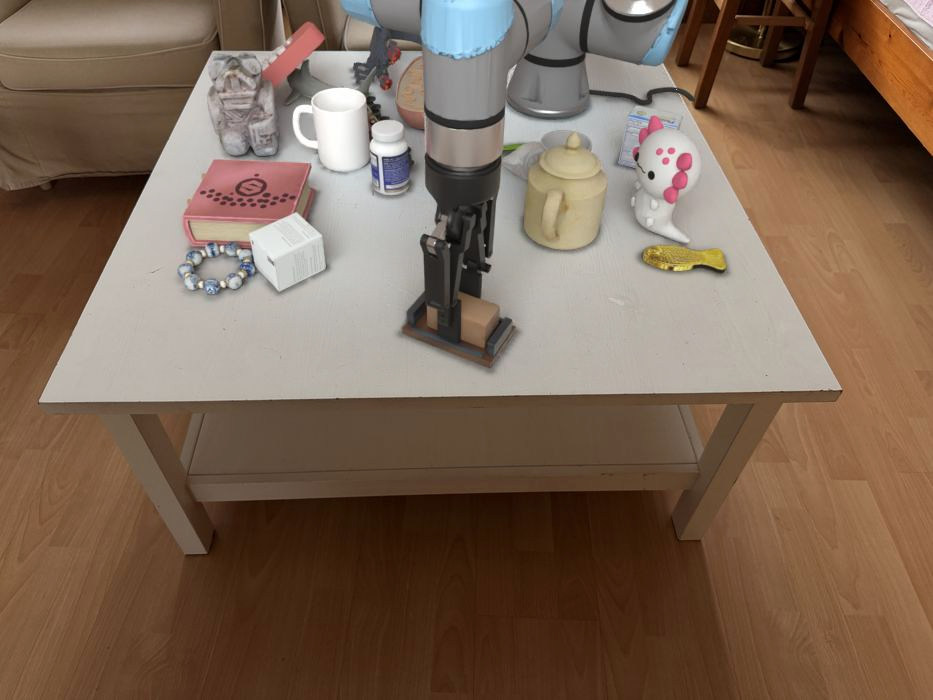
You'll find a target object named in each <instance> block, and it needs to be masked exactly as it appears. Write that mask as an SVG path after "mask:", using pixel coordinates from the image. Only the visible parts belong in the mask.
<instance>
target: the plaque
mask: <svg viewBox="0 0 933 700" xmlns="http://www.w3.org/2000/svg"><path fill="white" fill-rule="evenodd" d="M325 39H326V36H325V35H324V34H323V33H322V32H321V31H320V29H319V28H318V27H317V25H316V24H315V23H314V22H311V21H306V22H305V23H303V24H302V25H301V26H300V27H299V28H298V29H297V30H296V31H295V32H294V33H293V34H292V35H291V36H289V37H288V38H287V39H286V40H285V42H283V43H282V44H281V45H280V46H276V48H275V49H273V50H272V51H271V52H270V53H269V54H268V55H267V56H266V57H265V58H263V60H262V61H261V62H260V64H261V65H262V78H264V79H268V80H270V81H271V83H272V85H273V87H274V90H276V88H277V87H278V86H280V85H281V84H282V83H283V81H285V80H286V79H287V77H288V76H289V75H290V74H291V73H292V72H293V71H294V70H295V69H296V68H299V66H301V65H302V63H303V61H305V60H307V58H308V57H309V56H310V55H312V54H313V52H315V51H316V49H318V48H319V47H320V46H321V45H322V43H324V41H325Z"/></svg>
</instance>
